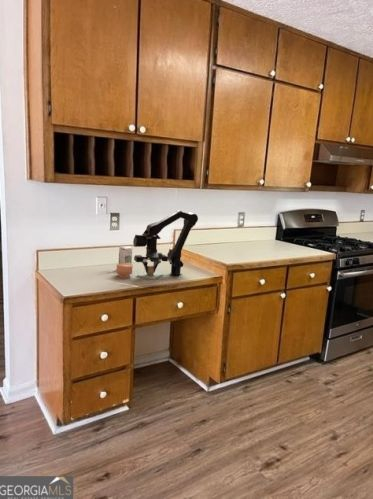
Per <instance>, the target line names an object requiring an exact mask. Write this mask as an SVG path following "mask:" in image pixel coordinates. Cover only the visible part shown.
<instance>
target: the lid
mask: <svg viewBox="0 0 373 499" xmlns="http://www.w3.org/2000/svg"><path fill="white" fill-rule="evenodd" d="M147 270H148V271H147V273H146V271H144V272H141V273H139V274H137V275H136V276H137V277H136V278H139V277H142V278H141V279H144V278H147V279H146V280H149V279H153V280H152V281H156V280H155V279H157V278H159V277H161V276H163V275H164V274H163V273H159V272H154V266H153V265H147ZM163 277H164V276H163ZM161 278H162V277H161ZM159 279H160V278H159ZM157 280H158V279H157Z"/></svg>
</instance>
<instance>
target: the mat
mask: <svg viewBox="0 0 373 499" xmlns="http://www.w3.org/2000/svg"><path fill="white" fill-rule="evenodd" d="M164 276H165V275H164V274H163V276H161V277H159V278H157V279H155V280H153V279H147V278H142V277H137V275H136V276H134V277H135V278H139V279H143V280H144V279H146V280H150V281H157V280H159V279H161V278H163V277H164Z"/></svg>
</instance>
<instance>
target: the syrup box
mask: <svg viewBox="0 0 373 499" xmlns="http://www.w3.org/2000/svg"><path fill="white" fill-rule="evenodd" d="M118 249H119V250H118V264H121V263H126V264H131V265H133V262H132V261H133V247H132V246H129V245H124V246H123V245H122V246H119V248H118Z"/></svg>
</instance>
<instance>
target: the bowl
mask: <svg viewBox="0 0 373 499" xmlns="http://www.w3.org/2000/svg"><path fill="white" fill-rule="evenodd" d="M115 272H116V274H117V275H118V277H119V278H123V279H126V278H127V279H128V278H130V277H131V275H132V274H133V264H126V263H121V264H119V263H117V264H116V271H115Z"/></svg>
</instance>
